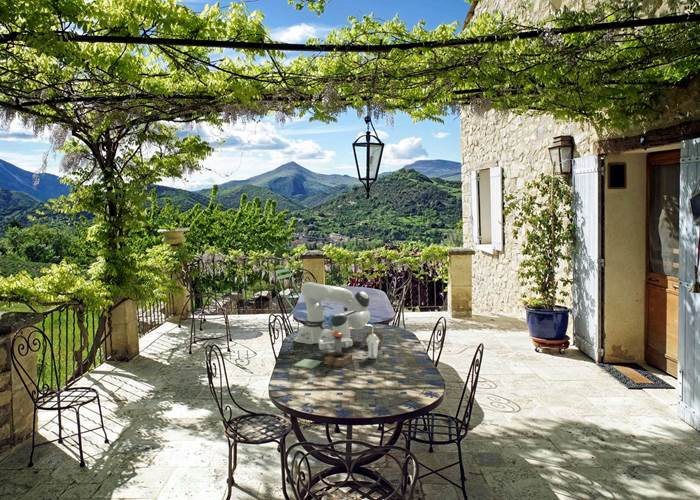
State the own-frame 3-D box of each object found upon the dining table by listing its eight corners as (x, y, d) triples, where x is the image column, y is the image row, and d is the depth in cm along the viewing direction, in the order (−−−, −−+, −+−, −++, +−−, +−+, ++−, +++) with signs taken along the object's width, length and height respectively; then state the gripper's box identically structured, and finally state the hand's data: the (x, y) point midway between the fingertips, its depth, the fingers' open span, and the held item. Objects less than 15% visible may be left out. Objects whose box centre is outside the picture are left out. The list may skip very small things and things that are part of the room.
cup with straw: (376, 360, 307) (375, 326, 305) (362, 358, 311) (361, 325, 309) (382, 356, 314) (381, 323, 312) (369, 354, 319) (368, 321, 317)
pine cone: (383, 343, 341) (383, 328, 340) (384, 347, 331) (384, 332, 330) (349, 344, 341) (349, 329, 340) (349, 348, 332) (348, 333, 331)
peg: (331, 363, 302) (330, 334, 301) (336, 360, 308) (335, 331, 306) (341, 365, 300) (340, 335, 298) (346, 361, 305) (345, 332, 304)
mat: (293, 366, 300) (293, 364, 300) (304, 360, 310) (304, 358, 310) (311, 368, 294) (311, 367, 294) (322, 362, 305) (322, 361, 305)
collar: (324, 364, 301) (324, 357, 301) (334, 358, 312) (334, 352, 311) (343, 367, 296) (342, 360, 295) (352, 360, 306) (352, 354, 306)
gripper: (349, 344, 320) (356, 350, 307) (316, 348, 313) (322, 354, 300) (348, 334, 319) (356, 339, 306) (316, 337, 313) (322, 343, 300)
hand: (339, 347), depth 303 cm, fingers open, 8 cm apart
